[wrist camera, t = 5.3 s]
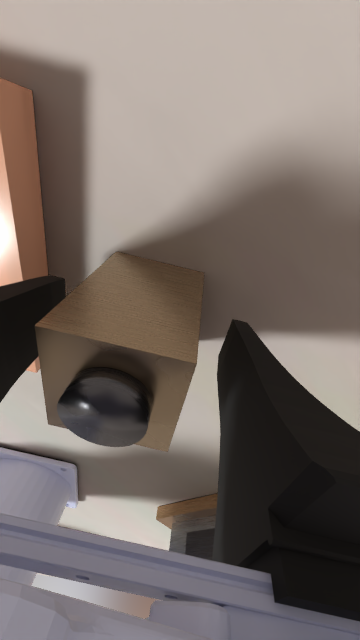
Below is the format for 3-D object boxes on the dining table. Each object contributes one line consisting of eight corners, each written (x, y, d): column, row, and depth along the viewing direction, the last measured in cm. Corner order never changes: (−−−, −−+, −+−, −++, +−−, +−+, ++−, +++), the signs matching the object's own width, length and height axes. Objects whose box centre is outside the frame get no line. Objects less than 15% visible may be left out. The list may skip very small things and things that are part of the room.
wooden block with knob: (111, 324, 13) (35, 444, 8) (116, 251, 11) (14, 343, 5) (184, 342, 13) (163, 474, 8) (204, 272, 11) (195, 385, 5)
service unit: (158, 506, 24) (143, 598, 19) (301, 474, 18) (334, 592, 13) (199, 535, 27) (196, 623, 21) (336, 515, 21) (375, 626, 16)
